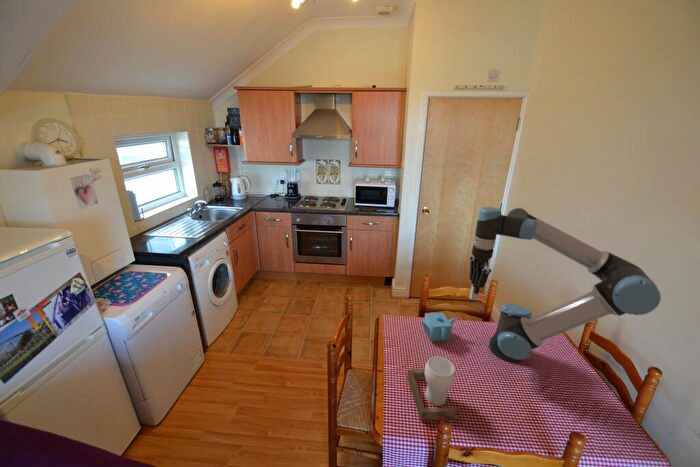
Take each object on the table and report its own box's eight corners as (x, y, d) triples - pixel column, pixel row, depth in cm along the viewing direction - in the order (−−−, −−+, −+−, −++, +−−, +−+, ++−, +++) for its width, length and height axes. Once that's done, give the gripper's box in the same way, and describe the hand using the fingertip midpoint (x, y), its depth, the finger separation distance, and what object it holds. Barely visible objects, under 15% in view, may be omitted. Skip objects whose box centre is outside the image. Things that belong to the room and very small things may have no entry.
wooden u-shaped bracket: (439, 376, 123) (440, 368, 122) (458, 419, 105) (459, 410, 104) (406, 377, 122) (407, 370, 121) (420, 420, 104) (421, 412, 103)
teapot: (414, 327, 153) (416, 308, 149) (448, 325, 155) (451, 306, 151) (425, 348, 138) (427, 328, 135) (462, 346, 140) (466, 326, 137)
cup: (451, 411, 108) (457, 379, 103) (421, 406, 110) (426, 374, 105) (448, 388, 118) (454, 357, 113) (421, 383, 120) (425, 353, 115)
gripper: (466, 240, 123) (458, 290, 131) (482, 253, 111) (471, 307, 119) (484, 240, 124) (474, 290, 132) (501, 253, 111) (489, 307, 119)
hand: (473, 298), depth 125 cm, fingers closed
